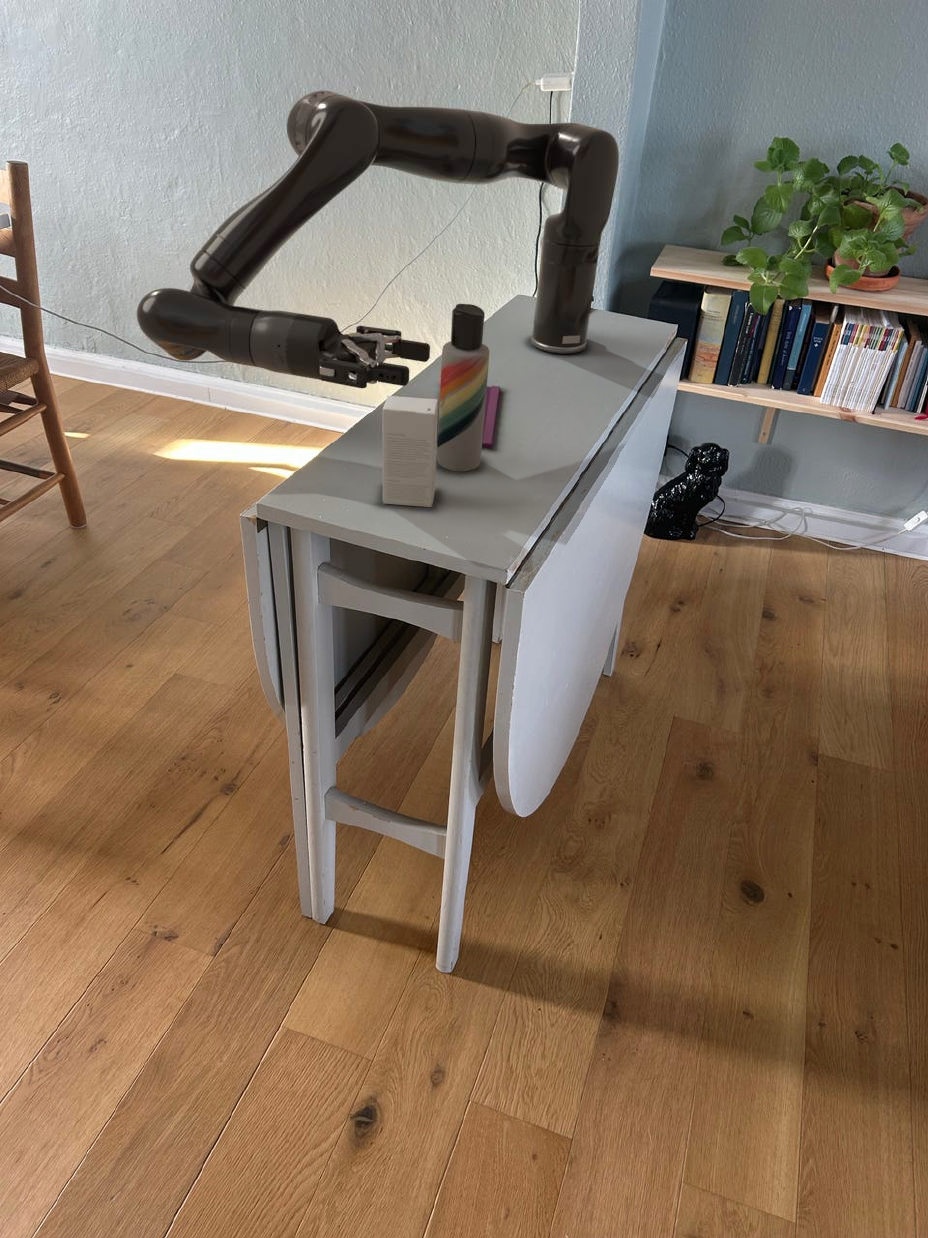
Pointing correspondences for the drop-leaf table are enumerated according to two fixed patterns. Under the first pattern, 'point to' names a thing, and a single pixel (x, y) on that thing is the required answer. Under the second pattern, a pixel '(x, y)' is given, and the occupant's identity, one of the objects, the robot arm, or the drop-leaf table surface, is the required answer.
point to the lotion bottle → (463, 391)
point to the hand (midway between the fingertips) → (419, 364)
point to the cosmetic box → (409, 450)
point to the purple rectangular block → (489, 416)
